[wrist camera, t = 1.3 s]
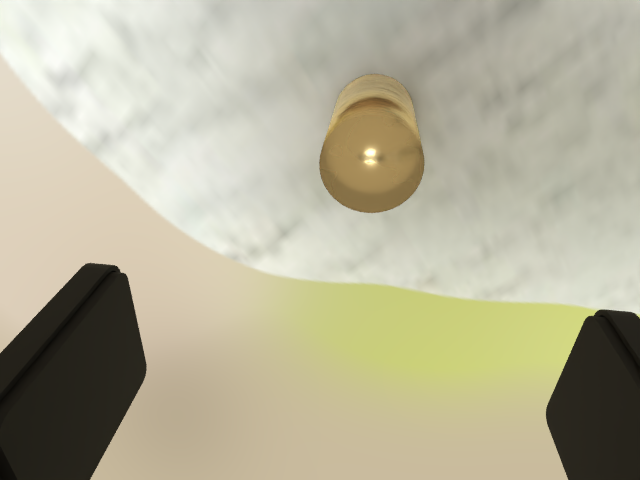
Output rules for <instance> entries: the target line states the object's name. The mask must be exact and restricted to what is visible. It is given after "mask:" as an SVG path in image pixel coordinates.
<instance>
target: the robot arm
mask: <svg viewBox="0 0 640 480" xmlns="http://www.w3.org/2000/svg"><path fill="white" fill-rule="evenodd" d="M145 374H146V361H145V356H144V351H143V346H142V342H141V337H140V332H139V328H138V323H137V318H136V314H135V309H134V304H133V300H132V295H131V291H130V287H129V281H128V278H127V276H126V274H124V273H121V272H120V269H118V267H117V266H115V265H106V264H95V263H88V264H85V265H84V266H83V267H82V268H81V269H80V270H79V271H78V272H77V273H76V274H75V275H74V276H73V277H72V278H71V279H70V280H69V281H68V283H66V284H65V286H64V287H63V288H62V289H61V290H60V291H59V292H58V293H57V294H56V295H55V296H54V297H53V298H52V299H51V300H50V301H49V302H48V303H47V305H46V306H45V307H44V308H43V309H42V310H41V311H40V312H39V313H38V314H37V315H36V316H35V317H34V318H33V319H32V320H31V322H30V323H29V324H28V325H27V326H26V327H25V328H24V329H23V330H22V331H21V332H20V333H19V334H18V335H17V336H16V337H15V338H14V340H13V341H12V342H11V343H10V344H9V345H8V346H7V347H6V348H5V349H4V350H3V351H2V352H1V353H0V480H90V479H91V477H92V475H93V473H94V471H95V469H96V468H97V466H98V464H99V462H100V460H101V458H102V456H103V455H104V453H105V451H106V449H107V447H108V445H109V444H110V442H111V440H112V438H113V436H114V434H115V433H116V431H117V429H118V427H119V425H120V423H121V422H122V420H123V418H124V416H125V414H126V412H127V410H128V409H129V407H130V405H131V403H132V401H133V399H134V398H135V396H136V394H137V392H138V390H139V388H140V386H141V385H142V383H143V381H144V378H145ZM546 419H547V424H548V427H549V430H550V432H551V435H552V438H553V440H554V443H555V445H556V448H557V451H558V453H559V456H560V459H561V461H562V464H563V467H564V469H565V472H566V475H567V477H568V480H640V318H639V317H638V316H637V315H636V314H635V313H632V312H625V311H614V310H599V311H597V312H596V313H595V315H594V316H588V317H587V318H586V319H585V321H584V323H583V326H582V328H581V330H580V333H579V335H578V337H577V339H576V342H575V344H574V346H573V348H572V350H571V353H570V355H569V357H568V360H567V362H566V364H565V366H564V369H563V371H562V373H561V376H560V378H559V380H558V382H557V385H556V387H555V389H554V392H553V394H552V396H551V398H550V401H549V403H548V405H547V409H546Z"/></svg>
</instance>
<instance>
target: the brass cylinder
mask: <svg viewBox="0 0 640 480" xmlns="http://www.w3.org/2000/svg"><path fill="white" fill-rule="evenodd" d="M319 164H320V174H321V178H322V181H323V183H324V185H325V187H326V189H327V190H328V192H329V193H330V194H331V195H332V197H333V198H335V199H336V200H337V201H338V202H339V203H341V204H342V205H344V206H346V207H348V208H350V209H353V210H356V211H359V212H366V213H376V212H383V211H387V210H390V209H393V208H395V207H397V206H399V205H400V204H402V203H403V202H405V201H406V200H407V199H408V198H409V197H410V196H411V195H412V194H413V193H414V192H415V190H416V189H417V187H418V185H419V184H420V181H421V179H422V176H423V171H424V155H423V150H422V146H421V141H420V137H419V132H418V127H417V123H416V118H415V114H414V109H413V104H412V101H411V98H410V96H409V94H408V92H407V90H406V89H405V88H404V87H403V86H402V84H400V83H399V82H398V81H396V80H395V79H393V78H391V77H389V76H385V75H380V74H370V75H365V76H361V77H359V78H357V79H355V80H353V81H352V82H351V83H349V84H348V85H347V86H346V87H345V88H344V89H343V91H342V92H341V94H340V95H339V97H338V100H337V102H336V105H335V109H334V112H333V115H332V118H331V122H330V125H329V128H328V131H327V135H326V138H325V141H324V144H323V148H322V151H321V155H320V162H319Z"/></svg>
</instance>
